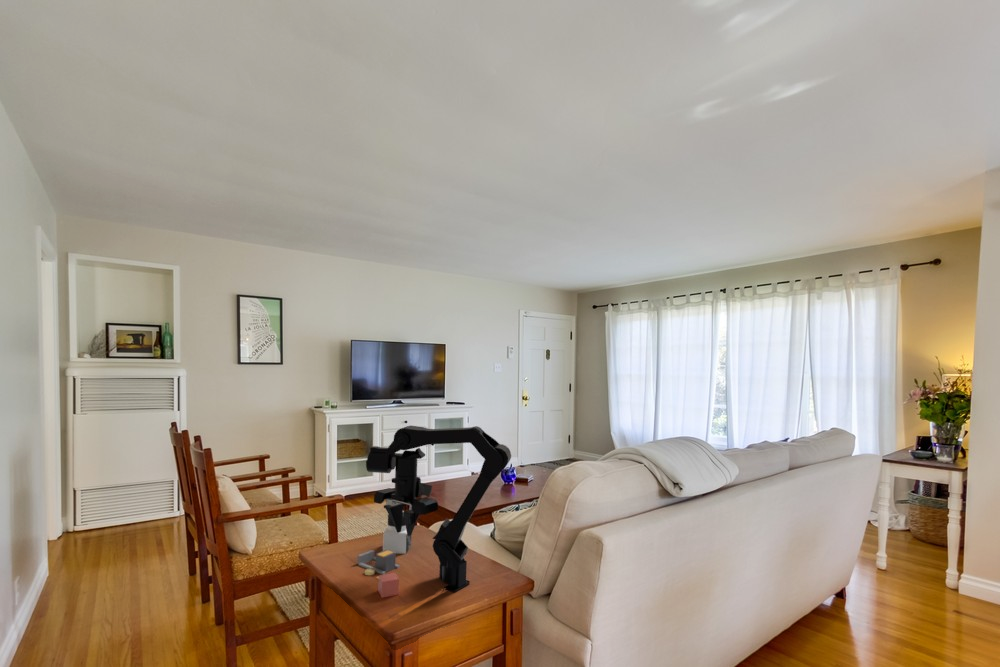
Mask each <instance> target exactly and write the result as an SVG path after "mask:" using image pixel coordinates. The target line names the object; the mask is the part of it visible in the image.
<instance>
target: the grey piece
mask: <svg viewBox="0 0 1000 667" xmlns="http://www.w3.org/2000/svg"><path fill="white" fill-rule="evenodd" d="M374 561H376V556H375V550H373V549H370V550H369V551H365V552H364V553H360V554H358V555H357V565H358V566H359V567H362V568H364V569H365V570H364V575H365V576H374V575H375V573H378V574H379V575H384V574H387V572H385V571H382V570H380V569H377V568H375V562H374ZM400 567H401V565H400V564H397V563H395V569H399V568H400ZM390 571H392V570H390ZM390 571H389V572H390ZM379 575H378V576H376V579H378V580H379Z"/></svg>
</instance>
